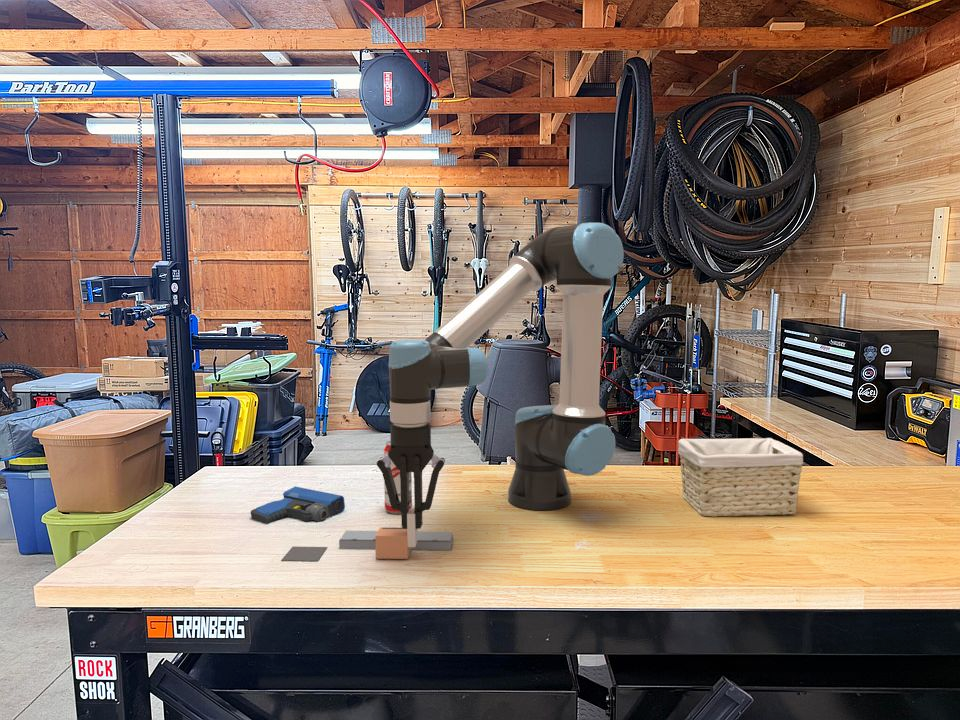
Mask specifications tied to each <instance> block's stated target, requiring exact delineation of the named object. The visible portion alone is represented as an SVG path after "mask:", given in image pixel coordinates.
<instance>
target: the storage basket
mask: <svg viewBox="0 0 960 720" xmlns="http://www.w3.org/2000/svg"><path fill="white" fill-rule="evenodd" d="M677 442H678V443H677V446H678V449H677V453H678V455H679V458H680V461H679V462H680V471H681V482H682V483H681V485H682V497H683V499H684V500H685V501H686V502H687V503H688V504H689V505H690V506H691V507H693V509H694V510H695V511H696V512H697V513H698V514H699V515H701V516H704V517H729V516H730V517H731V516H733V517H738V516H739V517H740V516H741V517H742V516H767V515H770V516H775V515H794V514H796V512H797V507H798V504H797V503H798V497H799V489H800V481H801V480H800V479H801V473H802V470H803V464H804V454H803V453H802V452H801V451H799V450H797V449H795V448H793V447H791V446H789V445H787V444H785V443H783V442H781V441H779V440H776V439H773V438H772V437H765V438H759V437H758V438H756V437H755V438H754V437H753V438H752V437H750V438H747V437H746V438H680V439H679V440H678V441H677Z"/></svg>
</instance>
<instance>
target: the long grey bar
mask: <svg viewBox="0 0 960 720" xmlns="http://www.w3.org/2000/svg"><path fill="white" fill-rule="evenodd" d="M377 532H378V530H345V532H344V533H343V535H342V536H341V537H340V538H339V540H338V545H339V546H338V548H339V550H340V549H341V550H346V549H347V550H349V549H350V550H376V537H375V536H376V534H377ZM453 536H454V534H453V531H428V530H426V531H421V530H420V531H418V530H417V544H416V547H411V551H412V550H419V551H422V550H425V551H428V550H429V551H451V547H452V543H453Z"/></svg>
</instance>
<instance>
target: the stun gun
mask: <svg viewBox="0 0 960 720" xmlns="http://www.w3.org/2000/svg"><path fill="white" fill-rule="evenodd" d="M282 496H283V498H281V499H279V500H274V501H271V502H268V503H265V504H262V505H260V506H257V507H256V508H253V509H251V510H250V519H251V520H253V521H256V522H259V523H262V524H265V525H268V524H269V523H272V522H274V521H277V520H280V519H283V518H286V517H287V518H294V519H297V520H301V521H304V522H309V521H316V522H321V521H324V520H325V519H327V518H332V517H335V516H337V515H339V514H341V513H343V512H344V511H345V509H346V504H345V497H344V496H343V495H341V494H335V493H329V492H325V491H320V490H315V489H309V488H306V487H305V488H304V487H302V486H301V487H300V486H292V488H290V489H287V490H286V491H283V493H282Z"/></svg>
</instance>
